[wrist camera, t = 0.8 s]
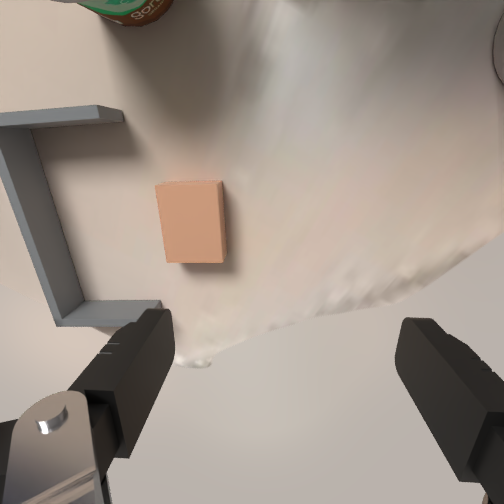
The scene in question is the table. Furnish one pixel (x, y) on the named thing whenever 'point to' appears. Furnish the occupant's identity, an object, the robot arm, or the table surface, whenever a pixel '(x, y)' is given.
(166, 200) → the tile
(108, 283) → the table surface
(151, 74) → the table surface
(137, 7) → the food container
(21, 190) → the box
